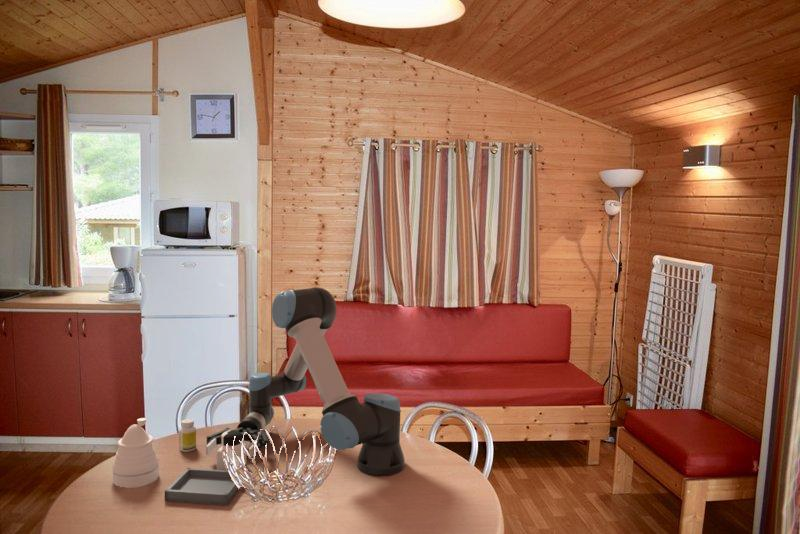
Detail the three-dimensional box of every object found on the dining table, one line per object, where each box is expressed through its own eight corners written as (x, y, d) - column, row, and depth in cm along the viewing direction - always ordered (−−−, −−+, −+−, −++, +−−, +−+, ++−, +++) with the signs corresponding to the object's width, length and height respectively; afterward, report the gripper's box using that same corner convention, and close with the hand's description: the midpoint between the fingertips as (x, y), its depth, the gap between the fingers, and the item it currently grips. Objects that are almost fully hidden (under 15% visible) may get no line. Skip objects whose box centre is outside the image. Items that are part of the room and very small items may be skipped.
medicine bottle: (246, 465, 200) (246, 428, 198) (238, 474, 193) (238, 437, 191) (225, 463, 200) (224, 427, 199) (216, 473, 193) (215, 435, 192)
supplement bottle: (199, 448, 212) (199, 420, 211) (186, 453, 208) (186, 425, 206) (189, 444, 215) (188, 417, 214) (175, 449, 210) (175, 421, 209)
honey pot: (154, 465, 198) (152, 410, 196) (163, 481, 187) (162, 423, 185) (109, 474, 191) (107, 417, 189) (116, 491, 180) (114, 431, 178)
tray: (245, 481, 188) (245, 471, 188) (227, 505, 174) (227, 495, 173) (187, 477, 190) (187, 467, 190) (164, 501, 175) (164, 490, 175)
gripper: (286, 439, 214) (267, 466, 193) (216, 435, 216) (189, 461, 195) (286, 418, 213) (267, 442, 192) (215, 414, 215) (189, 437, 194)
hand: (228, 452), depth 194 cm, fingers open, 13 cm apart
